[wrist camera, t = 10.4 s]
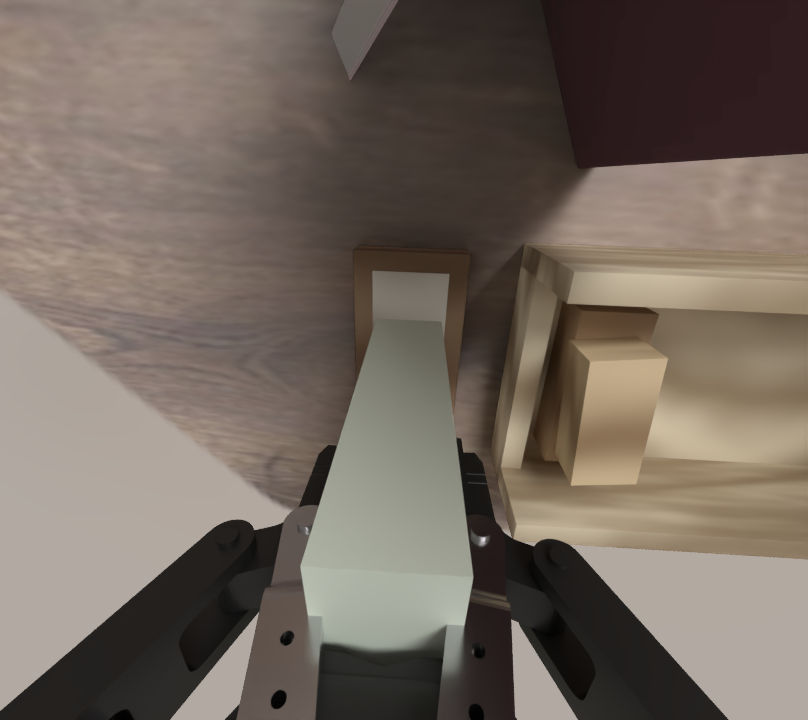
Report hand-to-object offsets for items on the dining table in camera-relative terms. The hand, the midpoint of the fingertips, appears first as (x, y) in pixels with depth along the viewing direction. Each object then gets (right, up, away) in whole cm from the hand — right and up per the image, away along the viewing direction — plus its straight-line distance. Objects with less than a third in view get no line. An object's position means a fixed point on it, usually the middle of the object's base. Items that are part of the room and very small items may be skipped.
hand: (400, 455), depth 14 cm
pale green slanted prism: (0, +1, +5) cm, 5 cm away
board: (0, +4, +9) cm, 10 cm away
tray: (+18, +3, +9) cm, 20 cm away
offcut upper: (+10, +1, +6) cm, 12 cm away
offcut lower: (+10, +3, +8) cm, 13 cm away
